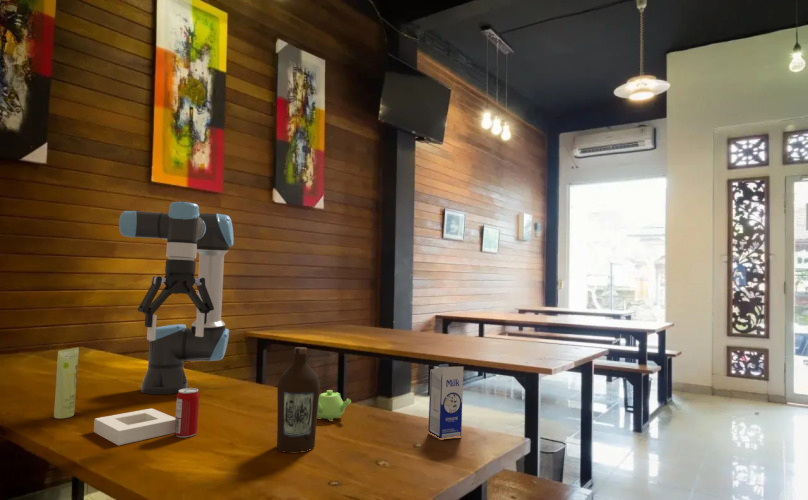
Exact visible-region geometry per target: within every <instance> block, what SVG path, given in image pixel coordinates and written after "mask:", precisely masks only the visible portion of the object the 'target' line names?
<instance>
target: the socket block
mask: <svg viewBox="0 0 808 500" xmlns="http://www.w3.org/2000/svg"><path fill="white" fill-rule="evenodd" d="M175 419H176V417H175V416H171V415H169V414H167V413H165V412H162V411H160V410H157V409H155V408H152V407H151V408H145V409H140V410H135V411H129V412H124V413H118V414H113V415H107V416H106V415H105V416H101V417H97V418H94V422H93V424H94V425H93V433H95V434H96V435H99V436H100V437H102V438H104V439H106V440H107V441H109V442H111V443H113V444H115V445H116V446H122V445H126V444H131V443H136V442H140V441H144V440H148V439H153V438H157V437H163V436H166V435H171V434H175Z"/></svg>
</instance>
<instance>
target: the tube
mask: <svg viewBox="0 0 808 500" xmlns="http://www.w3.org/2000/svg"><path fill="white" fill-rule="evenodd" d="M79 351H80V347H79V346H77V347H73V348H68V349H62V350H58V351H57V361H56V379H55V381H56V382H55V395H54V405H53V406H54V409H53V417H54V418H55V419H67V418H71V417H73V416H74V415H75V409H76V408H75V407H76V393H77V392H76V391H77V378H78V365H79Z"/></svg>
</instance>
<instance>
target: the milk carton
mask: <svg viewBox="0 0 808 500" xmlns="http://www.w3.org/2000/svg"><path fill="white" fill-rule="evenodd" d="M464 368H465V367H464V366H449V363H443V364H442V363H441V364H438V367H435V368H432V369H429V370H430V374H429V398H428V399H429V402H428V403H429V405H428V406H429V407H428V431H429V432H430V433H432V434H434V435H436V436H437V437H439V438H447V437H454V436H461V437H462V428H463V427H462V425H463V422H462V421H463V397H464V396H463V392H464V390H463V389H464ZM428 431H427V432H428Z"/></svg>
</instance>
